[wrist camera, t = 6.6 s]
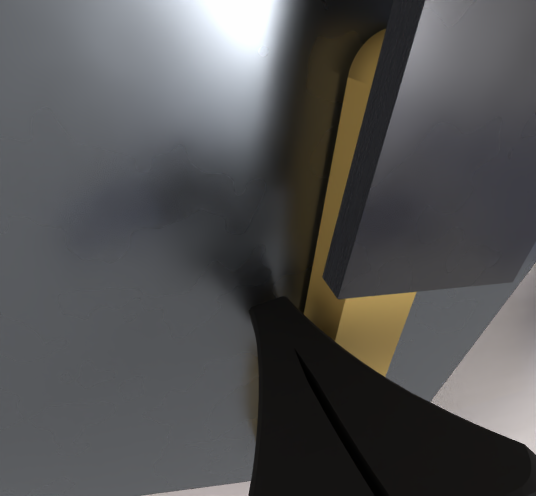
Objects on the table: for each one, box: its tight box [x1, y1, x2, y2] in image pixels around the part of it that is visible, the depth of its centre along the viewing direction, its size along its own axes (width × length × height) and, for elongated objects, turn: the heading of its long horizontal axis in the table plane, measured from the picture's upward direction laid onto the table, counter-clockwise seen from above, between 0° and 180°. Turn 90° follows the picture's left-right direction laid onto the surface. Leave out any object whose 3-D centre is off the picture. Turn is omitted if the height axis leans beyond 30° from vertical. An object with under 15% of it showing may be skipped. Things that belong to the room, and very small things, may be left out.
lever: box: [304, 29, 416, 377], centre depth 12 cm, size 16×4×2 cm, turn 174°
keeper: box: [322, 0, 536, 299], centre depth 9 cm, size 8×5×4 cm, turn 172°
